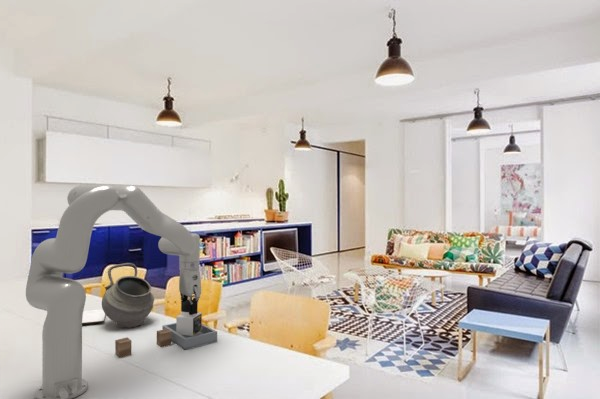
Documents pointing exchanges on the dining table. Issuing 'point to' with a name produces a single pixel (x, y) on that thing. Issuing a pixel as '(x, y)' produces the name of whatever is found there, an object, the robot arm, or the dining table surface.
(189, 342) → the tray
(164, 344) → the right walnut block
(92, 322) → the plate
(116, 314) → the pot
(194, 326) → the medicine bottle
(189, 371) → the dining table surface
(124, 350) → the left walnut block
